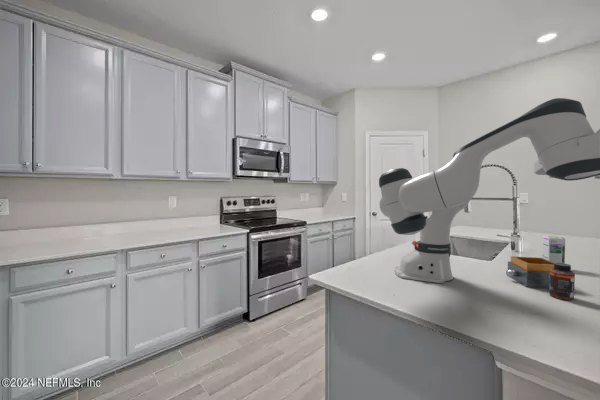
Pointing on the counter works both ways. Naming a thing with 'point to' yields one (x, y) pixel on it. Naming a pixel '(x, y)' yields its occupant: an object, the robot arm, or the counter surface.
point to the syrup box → (553, 249)
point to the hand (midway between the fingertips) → (574, 175)
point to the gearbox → (530, 271)
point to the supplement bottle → (562, 282)
